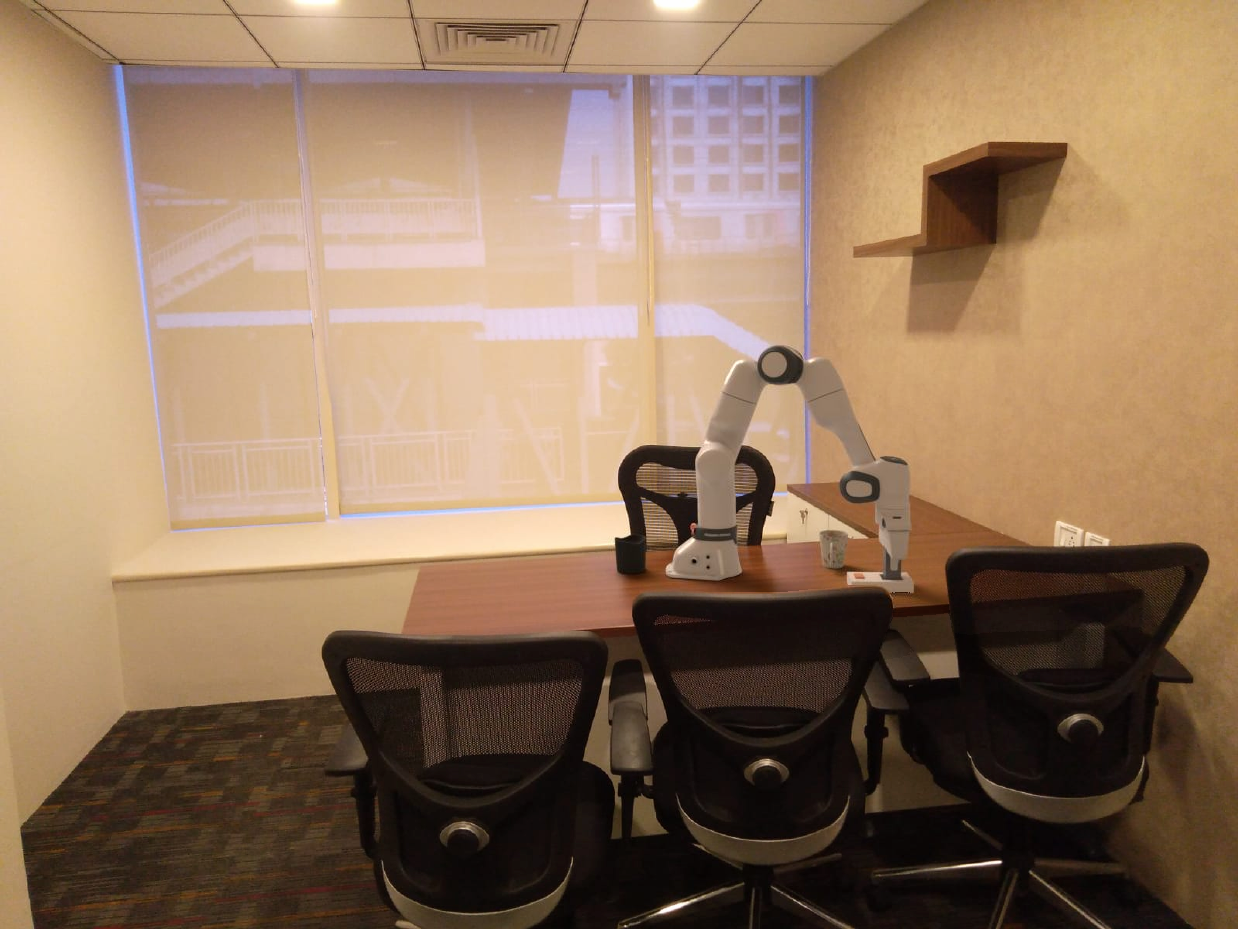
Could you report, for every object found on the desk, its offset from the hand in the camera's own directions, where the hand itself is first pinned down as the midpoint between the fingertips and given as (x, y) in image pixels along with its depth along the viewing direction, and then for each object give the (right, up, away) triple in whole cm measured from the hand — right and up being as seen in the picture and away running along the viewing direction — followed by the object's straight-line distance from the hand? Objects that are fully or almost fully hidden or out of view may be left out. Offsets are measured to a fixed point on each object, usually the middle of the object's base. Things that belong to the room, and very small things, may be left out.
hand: (891, 567), depth 218 cm
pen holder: (-70, -5, +26) cm, 75 cm away
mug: (-10, -3, +21) cm, 24 cm away
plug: (0, -5, +1) cm, 5 cm away
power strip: (-3, -6, +1) cm, 7 cm away
